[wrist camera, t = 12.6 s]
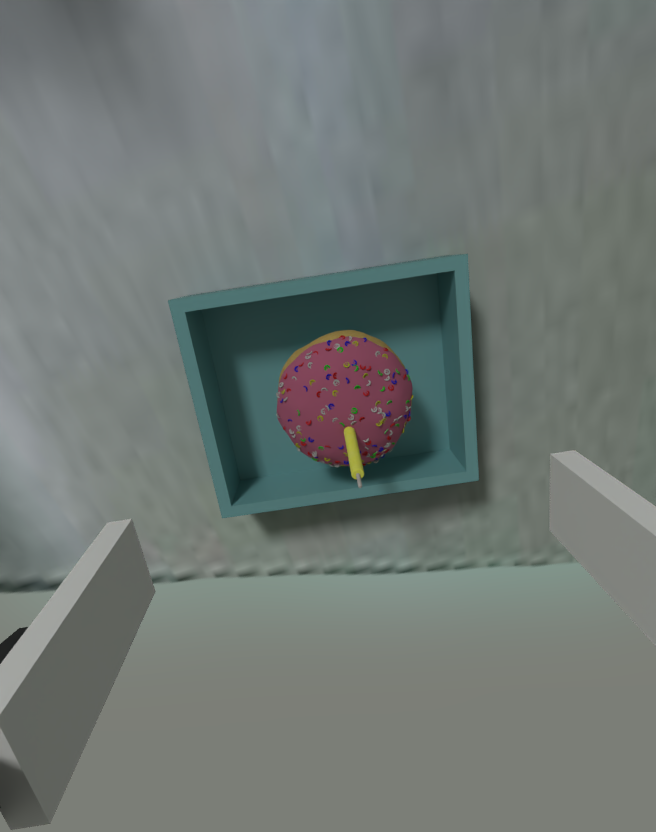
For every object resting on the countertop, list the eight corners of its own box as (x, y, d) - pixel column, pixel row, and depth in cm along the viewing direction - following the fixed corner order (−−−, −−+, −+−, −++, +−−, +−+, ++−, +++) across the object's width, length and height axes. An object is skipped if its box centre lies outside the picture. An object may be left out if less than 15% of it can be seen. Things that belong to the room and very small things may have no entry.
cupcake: (407, 428, 34) (453, 511, 23) (294, 449, 34) (283, 541, 23) (390, 311, 31) (433, 339, 20) (268, 335, 32) (242, 375, 20)
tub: (233, 488, 36) (222, 518, 31) (187, 295, 31) (167, 300, 27) (458, 454, 35) (478, 480, 31) (446, 255, 31) (467, 253, 27)
